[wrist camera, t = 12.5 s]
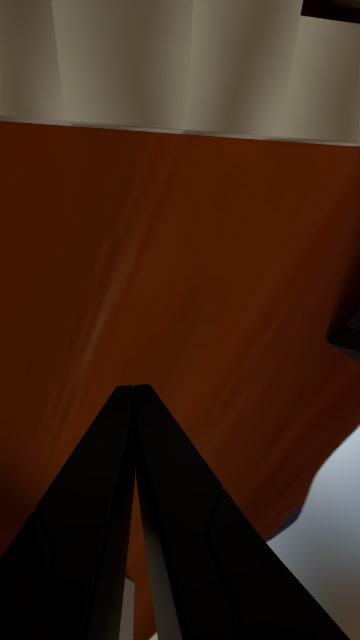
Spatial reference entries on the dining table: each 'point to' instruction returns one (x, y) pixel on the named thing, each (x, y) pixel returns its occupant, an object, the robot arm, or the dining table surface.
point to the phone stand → (348, 336)
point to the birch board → (182, 68)
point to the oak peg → (342, 5)
